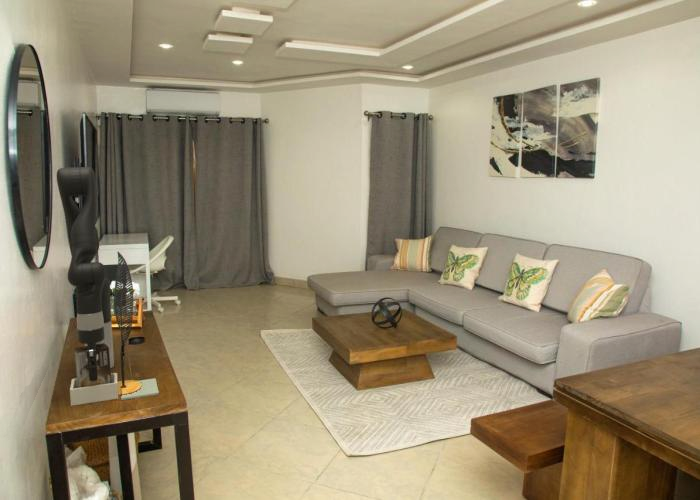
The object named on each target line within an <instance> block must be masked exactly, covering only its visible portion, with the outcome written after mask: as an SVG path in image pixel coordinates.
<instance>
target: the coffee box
mask: <svg viewBox="0 0 700 500" xmlns="http://www.w3.org/2000/svg"><path fill="white" fill-rule="evenodd" d="M96 345H99V346H96V347H99V348H96V355H97V354H98V358H99V361H98V362H97V366H98V367H97V378H98V379H97V380H96V381H90V379H89V370H88V369H87V367H88V363H87V362H86V359H87V353H86V351H87V350H85V349H86V348H88V347H85V345H84V346H78V347H74V358H75V371H76V378H77V384H78V388H81V387H88V386H95V385H102V384H109V383H112V379H111V374H112V368H111V366H110V355H109V347H108V346H107V345H106V344H105V343H101V344H96ZM96 357H97V356H96ZM90 365H95V362H90Z"/></svg>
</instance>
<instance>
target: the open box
mask: <svg viewBox="0 0 700 500" xmlns="http://www.w3.org/2000/svg"><path fill="white" fill-rule="evenodd" d="M111 379H112V383H109V384H102V385H95V386H88V387H81V388H78V384H77V377H76V378H72V379H71V382H70V383H71V384H70V388H69V396H70V397H69V398H70V407H72V406H73V407H74V406H78V405H84V404H85V405H86V404H91V403H98V402H103V401H112V400H116V399H117V400H119V386H118V385H119V384H118V383H119V382H118V372H113V373H112V372H111Z"/></svg>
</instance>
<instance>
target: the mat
mask: <svg viewBox="0 0 700 500" xmlns="http://www.w3.org/2000/svg"><path fill="white" fill-rule="evenodd" d="M137 381H138V382H141V383H142V387H141V389H140V390H138V391H137V392H134V393H132V394H127V395H122V396H121V395H120V396H121V397H120V398H121V401H126V400H130V399H138V398H139V399H140V398H144V397H149V396H157V395H159V394H160V391H159V388H158V384H157V379H156V377H155V378H148V379H142V380H137Z"/></svg>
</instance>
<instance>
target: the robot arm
mask: <svg viewBox="0 0 700 500" xmlns="http://www.w3.org/2000/svg"><path fill="white" fill-rule="evenodd" d="M56 183H57V187H58V188H57V189H58V192H59V196H60V200H61V201H60V202H61V204H62V208H63V213H64V218H65V224H66V225H65V226H66V234H67V239H68V246H69V251H70V254H71V260H70V264H69V267H68V271H67V281H68V283H69V284H70V285H71V286H73V287H75V293H76V298H75V303H76V329H77V330H76V331H77V341H78V343H80V344H83V345H84V346H85V347H88V348H86V349H85V350H87V351H86V353H87V359H86V362H87V363H88V367H87V369H88V370H89V379H90V381H96V380H97V379H98V378H97V367H98V366H97V362H98V361H99V358H98V354H97V355H96V348H99V347H96V346H99V345H96V344H101V343H105V344H106V345H107V346H108V347H109V355H110V366H111V369H112V368H114V367H115V360H114V345H113V344H114V342H113V341H114V340H113V328H112V327H113V326H112V310H111V284H110V281H109V279H108V278H106V276H107V270H106V269H107V268H106V267H105V265H104V263H102V262H100V261H93V260H94V258H95V257H96V256H97V254H98V252H99V250H100V239H99V232H98V228H97V227H96V218H97V217H96V216H97V179H96V173H95V171H94V170H93V168H92V167H90V166H78V167H77V166H75V167H61V168H59V169H57V172H56ZM81 196H85V201H84V205H83V206H82V209H81V210H80V208H79V207H78V206H77V204H76V202H75V201H74V198H73V197H81ZM92 261H93V262H92ZM96 356H97V357H96ZM90 362H95V365H90Z"/></svg>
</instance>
